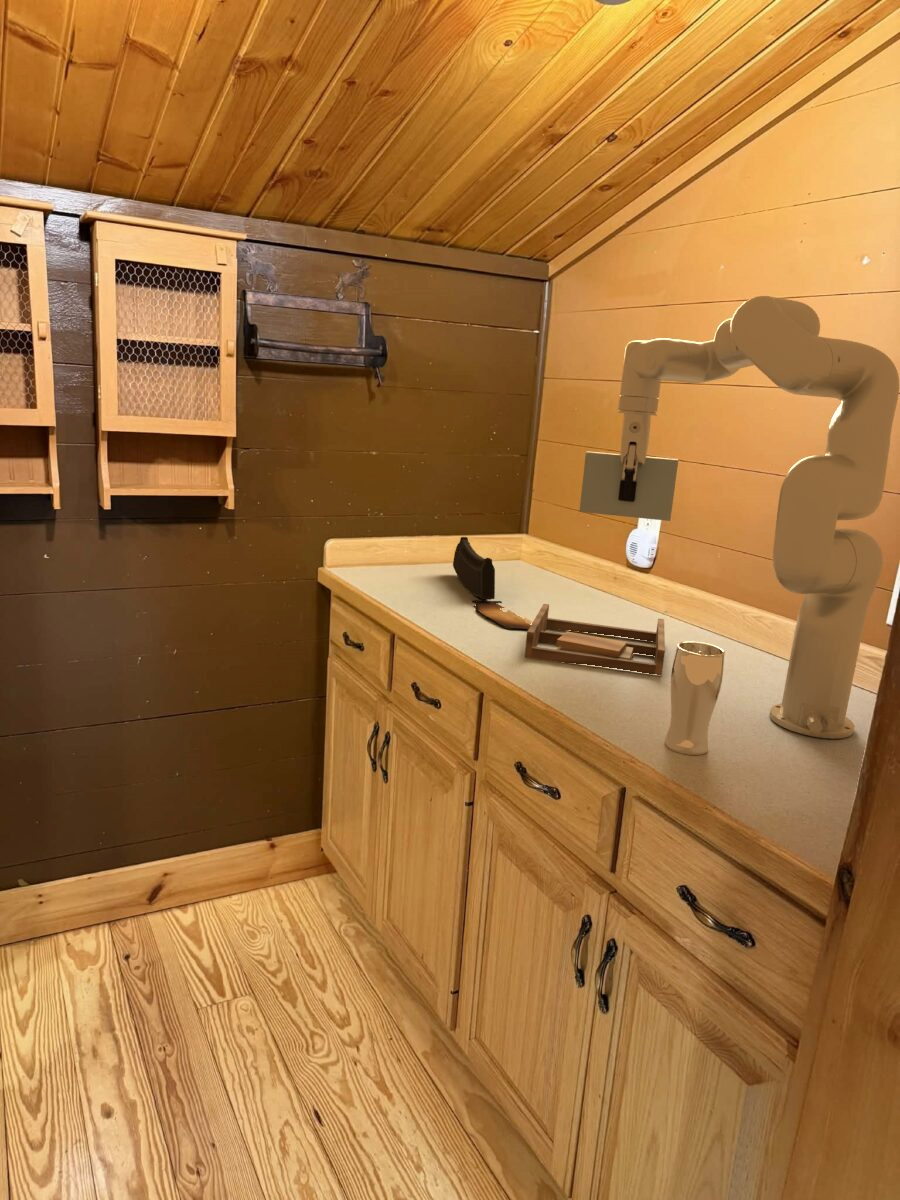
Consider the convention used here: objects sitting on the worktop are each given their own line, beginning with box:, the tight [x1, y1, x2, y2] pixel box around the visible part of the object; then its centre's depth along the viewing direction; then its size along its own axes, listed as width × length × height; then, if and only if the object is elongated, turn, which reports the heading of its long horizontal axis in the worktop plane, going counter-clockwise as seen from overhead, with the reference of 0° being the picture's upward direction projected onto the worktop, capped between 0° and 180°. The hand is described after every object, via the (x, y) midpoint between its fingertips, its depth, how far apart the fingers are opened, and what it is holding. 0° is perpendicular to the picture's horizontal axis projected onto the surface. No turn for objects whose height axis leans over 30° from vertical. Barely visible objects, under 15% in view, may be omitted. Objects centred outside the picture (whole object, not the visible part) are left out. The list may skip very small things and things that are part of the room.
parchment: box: [471, 599, 533, 631], centre depth 187 cm, size 25×10×1 cm, turn 19°
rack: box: [524, 603, 666, 676], centre depth 166 cm, size 24×25×5 cm
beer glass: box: [664, 641, 726, 756], centre depth 120 cm, size 7×7×15 cm
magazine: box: [452, 536, 496, 601], centre depth 209 cm, size 17×3×30 cm
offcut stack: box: [556, 631, 634, 660], centre depth 162 cm, size 8×14×4 cm, turn 70°
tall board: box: [579, 451, 679, 522], centre depth 168 cm, size 3×18×12 cm, turn 76°
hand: (626, 499), depth 169 cm, fingers closed on tall board, 3 cm apart
